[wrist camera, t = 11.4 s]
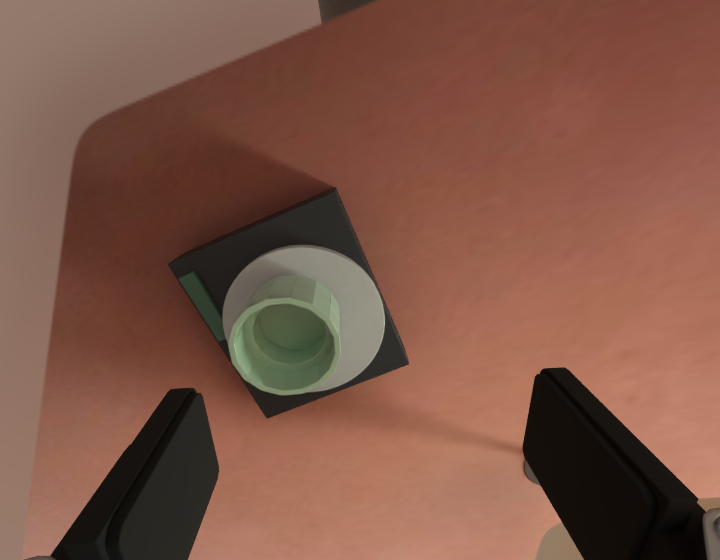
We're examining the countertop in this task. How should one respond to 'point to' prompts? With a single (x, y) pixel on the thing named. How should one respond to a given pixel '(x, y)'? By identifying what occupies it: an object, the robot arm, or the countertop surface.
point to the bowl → (287, 336)
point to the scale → (307, 259)
